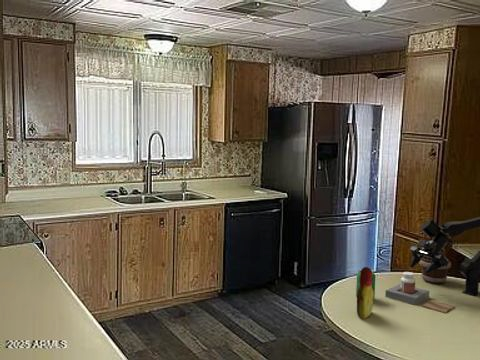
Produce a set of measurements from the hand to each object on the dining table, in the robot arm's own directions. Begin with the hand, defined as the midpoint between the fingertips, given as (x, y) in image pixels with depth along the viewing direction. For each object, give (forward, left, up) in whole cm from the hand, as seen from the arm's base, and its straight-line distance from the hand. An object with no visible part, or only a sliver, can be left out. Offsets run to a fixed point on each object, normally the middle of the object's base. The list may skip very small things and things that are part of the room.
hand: (418, 270), depth 222 cm
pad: (+7, +13, -12) cm, 19 cm away
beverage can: (+21, -14, -12) cm, 28 cm away
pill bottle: (+5, -2, -12) cm, 13 cm away
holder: (+5, -2, -12) cm, 13 cm away
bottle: (+39, -4, -12) cm, 41 cm away
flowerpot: (-28, -4, -12) cm, 30 cm away
